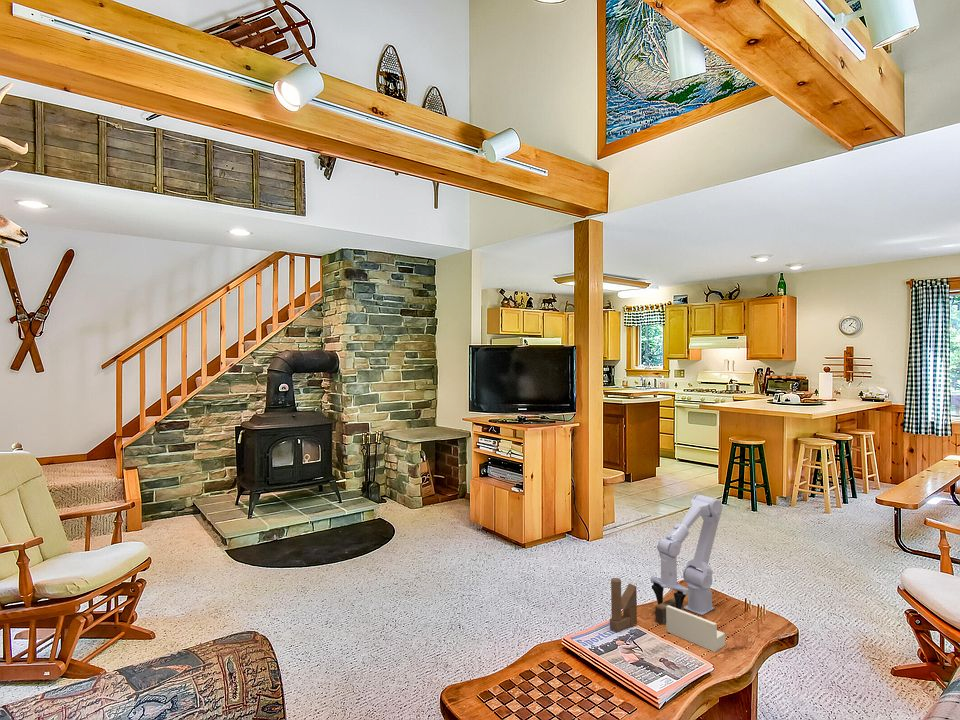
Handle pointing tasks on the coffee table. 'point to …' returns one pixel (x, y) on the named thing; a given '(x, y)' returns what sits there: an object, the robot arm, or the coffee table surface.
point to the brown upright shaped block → (623, 606)
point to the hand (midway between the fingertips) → (669, 607)
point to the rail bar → (664, 610)
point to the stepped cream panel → (694, 629)
